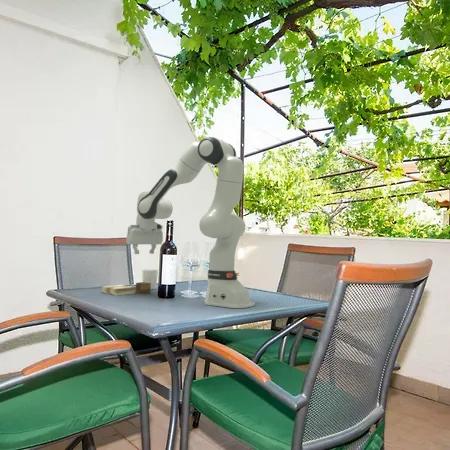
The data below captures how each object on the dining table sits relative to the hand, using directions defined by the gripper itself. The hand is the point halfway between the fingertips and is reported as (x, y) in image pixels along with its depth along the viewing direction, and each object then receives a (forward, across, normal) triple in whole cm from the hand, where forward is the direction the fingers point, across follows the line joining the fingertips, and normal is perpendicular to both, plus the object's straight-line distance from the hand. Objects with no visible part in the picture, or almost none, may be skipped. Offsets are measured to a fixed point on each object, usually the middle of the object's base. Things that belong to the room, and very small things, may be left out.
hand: (144, 253), depth 205 cm
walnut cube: (+19, 0, 0) cm, 19 cm away
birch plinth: (+19, -9, +7) cm, 22 cm away
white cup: (+19, +12, +9) cm, 24 cm away
